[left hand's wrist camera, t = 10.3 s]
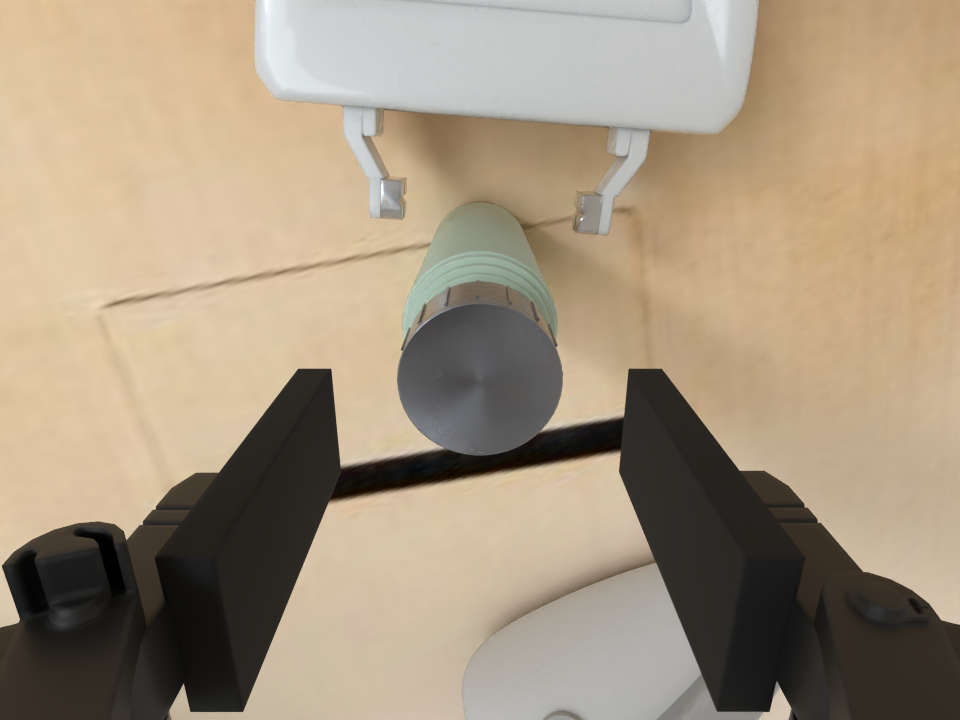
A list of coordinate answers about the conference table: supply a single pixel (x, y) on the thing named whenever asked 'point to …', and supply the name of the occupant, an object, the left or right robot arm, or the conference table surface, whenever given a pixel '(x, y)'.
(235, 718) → the conference table surface
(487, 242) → the bottle
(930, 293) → the conference table surface
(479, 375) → the cap
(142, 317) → the conference table surface
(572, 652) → the projector
